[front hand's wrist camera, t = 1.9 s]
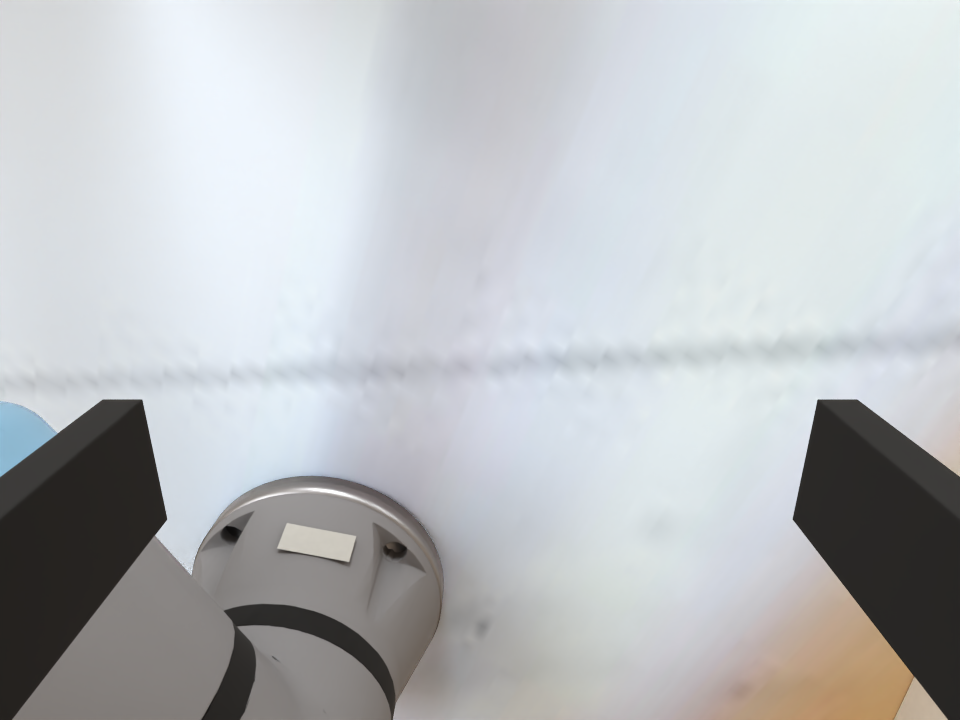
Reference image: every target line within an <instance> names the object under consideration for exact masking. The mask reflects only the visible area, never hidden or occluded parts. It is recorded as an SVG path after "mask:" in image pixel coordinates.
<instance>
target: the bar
mask: <svg viewBox="0 0 960 720" xmlns="http://www.w3.org/2000/svg"><path fill="white" fill-rule="evenodd" d="M894 720H948V719H947V718H946V717H945V715H944V714H943V713H942V712H941V710H940V709H939V708H938V706H937V705H936V704H935V702H934V701H933V700H932V699H931V697H930V696H929V695H928V693H927V692H926V691H925V690H924V688H923V687H922V686H921V684H920V683H919V682H918V681H917V679H916V678H915V677H914V679H913V681H912V683H911V685H910V687H909V689H908V691H907V693H906V695H905V698H904V700H903V702H902V704H901V706H900V708H899V710H898V712H897V714H896V717H895V719H894Z"/></svg>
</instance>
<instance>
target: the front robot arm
mask: <svg viewBox="0 0 960 720" xmlns="http://www.w3.org/2000/svg"><path fill="white" fill-rule="evenodd" d="M166 520H167V516H166V511H165V506H164V501H163V497H162V492H161V487H160V482H159V477H158V473H157V468H156V463H155V458H154V454H153V449H152V444H151V439H150V434H149V430H148V425H147V420H146V415H145V410H144V406H143V401H142V400H102V401H100V402H99V403H98V404H96V405H95V406H94V407H92V408H91V409H90V410H88V411H87V412H86V413H84V414H83V415H82V416H80V417H79V418H78V419H76V420H75V421H74V422H72V423H71V424H70V425H69V426H67V427H66V428H65V429H63V430H62V431H61V432H59V433H57V432H56V431H55V430H54V429H52V428H51V427H50V426H49V425H48V424H47V423H46V422H45V421H44V420H43V419H42V418H41V417H40V416H38V415H37V414H36V413H34V412H33V411H31V410H29V409H27V408H25V407H23V406H20V405H17V404H13V403H8V402H2V401H0V720H393V714H394V709H395V704H396V701H397V700H398V698H399V696H400V694H401V693H402V691H403V689H404V687H405V686H406V684H407V682H408V680H409V679H410V677H411V675H412V673H413V672H414V670H415V668H416V666H417V665H418V663H419V661H420V659H421V658H422V656H423V654H424V652H425V650H426V649H427V647H428V645H429V643H430V642H431V640H432V638H433V636H434V634H435V632H436V629H437V626H438V623H439V620H440V614H441V606H442V597H443V583H444V580H443V570H442V566H441V561H440V558H439V555H438V552H437V550H436V548H435V546H434V544H433V542H432V540H431V539H430V537H429V535H428V534H427V532H426V531H425V530H424V528H423V527H422V526H421V524H420V523H419V522H418V521H417V520H416V519H415V518H414V517H413V516H412V515H411V514H410V513H409V512H408V511H407V510H405V509H404V508H403V507H402V506H400V505H399V504H398V503H396V502H395V501H393V500H392V499H390V498H388V497H387V496H385V495H383V494H381V493H379V492H377V491H375V490H373V489H371V488H368V487H366V486H363V485H361V484H357V483H354V482H351V481H347V480H342V479H338V478H331V477H322V476H299V477H290V478H284V479H280V480H275V481H272V482H269V483H266V484H263V485H261V486H258V487H256V488H254V489H252V490H250V491H248V492H246V493H244V494H243V495H242V496H240V497H239V498H237V499H236V500H235V501H233V502H232V503H231V504H230V505H229V506H228V507H227V508H226V509H225V510H224V511H223V512H222V513H221V515H220V516H219V518H218V519H217V520H216V522H215V523H214V525H213V526H212V528H211V529H210V531H209V532H208V534H207V535H206V537H205V538H204V540H203V541H202V543H201V545H200V547H199V549H198V552H197V555H196V557H195V561H194V566H193V571H192V576H191V575H190V574H189V573H188V572H187V571H186V569H185V568H184V567H183V566H182V565H181V564H180V563H179V562H178V561H177V560H176V558H175V557H174V556H173V555H172V554H171V553H170V552H169V551H168V550H167V549H166V547H165V546H164V545H163V544H162V543H161V542H160V541H159V540H158V539H157V538H156V536H155V535H156V533H157V532H158V531H159V529H160V528H161V527H162V525H163V524H164V523H165V522H166ZM793 520H794V522H795V523H796V524H797V525H798V527H799V528H800V529H801V531H802V532H803V533H804V535H805V536H806V537H807V538H808V540H809V541H810V542H811V544H812V545H813V546H814V547H815V549H816V550H817V551H818V553H819V554H820V555H821V556H822V558H823V559H824V560H825V562H826V563H827V564H828V566H829V567H830V568H831V569H832V571H833V572H834V573H835V575H836V576H837V577H838V578H839V580H840V581H841V582H842V584H843V585H844V586H845V587H846V589H847V590H848V591H849V593H850V594H851V595H852V597H853V598H854V599H855V600H856V602H857V603H858V604H859V606H860V607H861V608H862V609H863V611H864V612H865V613H866V615H867V616H868V617H869V618H870V620H871V621H872V622H873V624H874V625H875V626H876V628H877V629H878V630H879V631H880V633H881V634H882V635H883V637H884V638H885V639H886V640H887V642H888V643H889V644H890V646H891V647H892V648H893V649H894V651H895V652H896V653H897V655H898V656H899V657H900V659H901V660H902V661H903V662H904V664H905V665H906V666H907V668H908V669H909V670H910V671H911V673H912V674H913V675H914V677H915V678H916V679H917V681H918V682H919V683H920V684H921V686H922V687H923V688H924V690H925V691H926V692H927V693H928V695H929V696H930V697H931V699H932V700H933V701H934V702H935V704H936V705H937V706H938V708H939V709H940V710H941V712H942V713H943V714H944V715H945V717H946V718H947V719H948V720H960V477H959V476H958V475H956V474H955V473H954V472H953V471H951V470H950V469H949V468H947V467H946V466H945V465H943V464H942V463H941V462H939V461H938V460H937V459H935V458H934V457H933V456H931V455H930V454H929V453H927V452H926V451H925V450H923V449H922V448H921V447H919V446H918V445H917V444H915V443H914V442H913V441H911V440H910V439H909V438H907V437H906V436H905V435H903V434H902V433H901V432H899V431H898V430H897V429H895V428H894V427H893V426H891V425H890V424H889V423H888V422H886V421H885V420H884V419H882V418H881V417H880V416H878V415H877V414H876V413H874V412H873V411H872V410H870V409H869V408H868V407H866V406H865V405H864V404H862V403H861V402H860V401H858V400H818V401H817V406H816V410H815V415H814V420H813V425H812V430H811V434H810V439H809V444H808V449H807V454H806V458H805V463H804V468H803V473H802V477H801V482H800V487H799V492H798V497H797V501H796V506H795V511H794V516H793Z"/></svg>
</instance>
